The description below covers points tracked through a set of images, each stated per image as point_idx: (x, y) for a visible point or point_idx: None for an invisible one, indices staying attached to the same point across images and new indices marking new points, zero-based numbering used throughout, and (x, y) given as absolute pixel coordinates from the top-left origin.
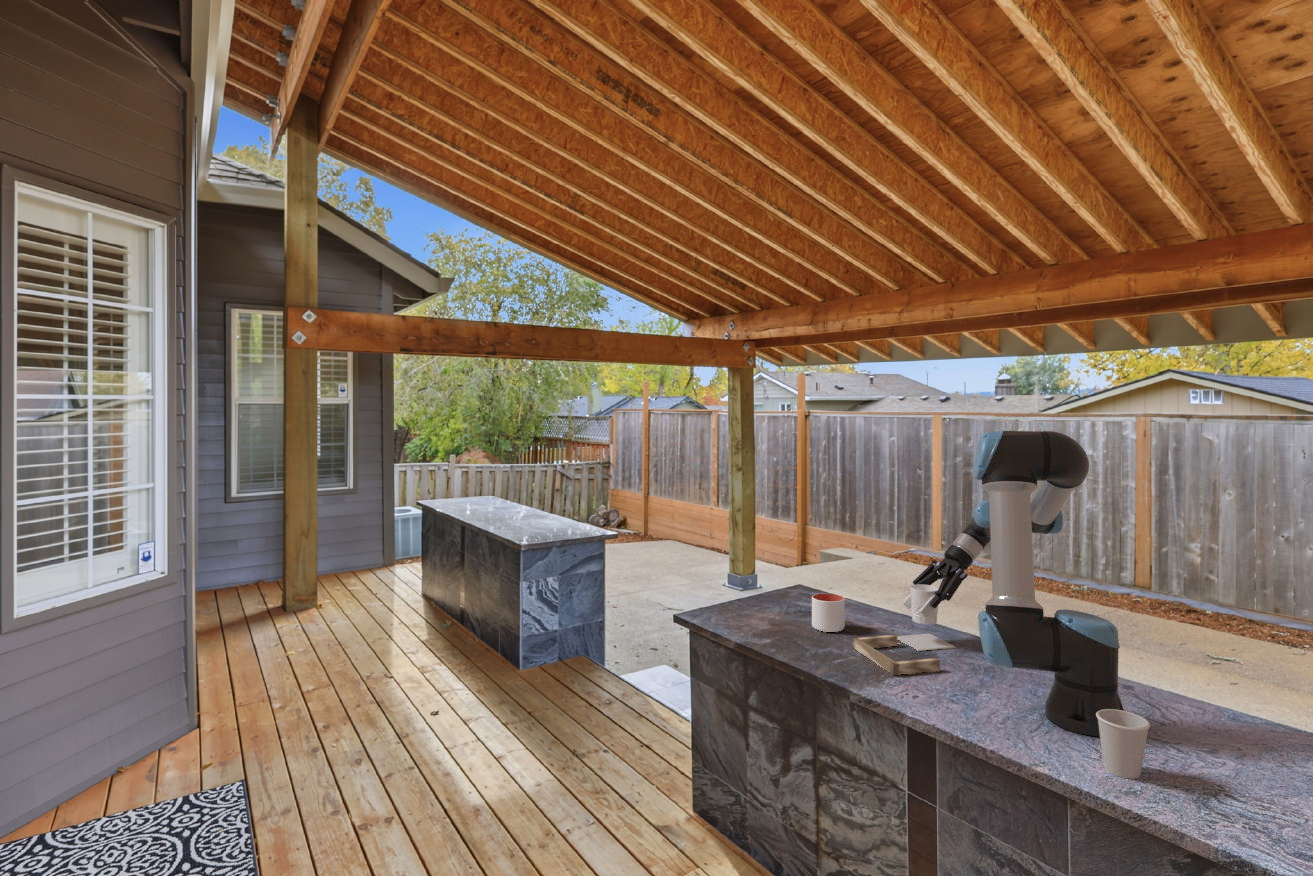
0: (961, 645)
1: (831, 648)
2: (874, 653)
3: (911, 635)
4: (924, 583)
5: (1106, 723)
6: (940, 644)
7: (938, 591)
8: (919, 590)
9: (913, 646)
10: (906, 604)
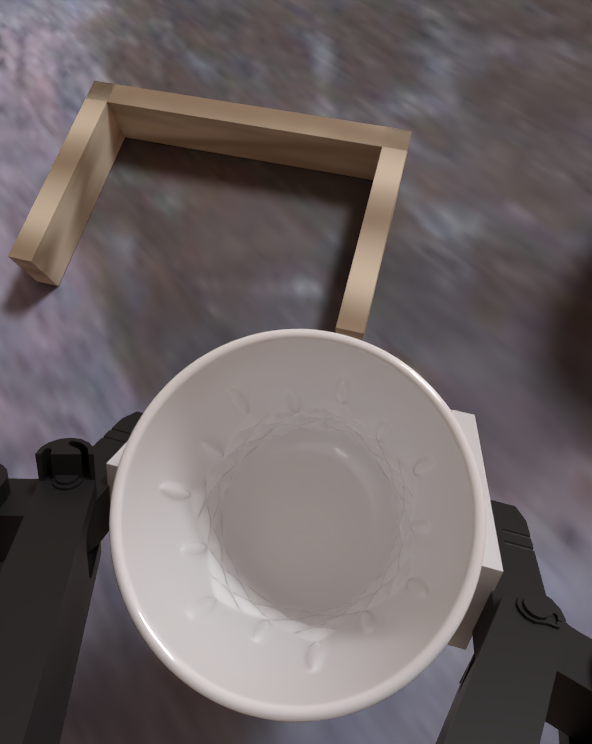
0: (177, 684)
1: (444, 105)
2: (225, 104)
3: None
4: (459, 698)
5: None
6: None
7: (68, 505)
8: (238, 341)
9: None
10: None
